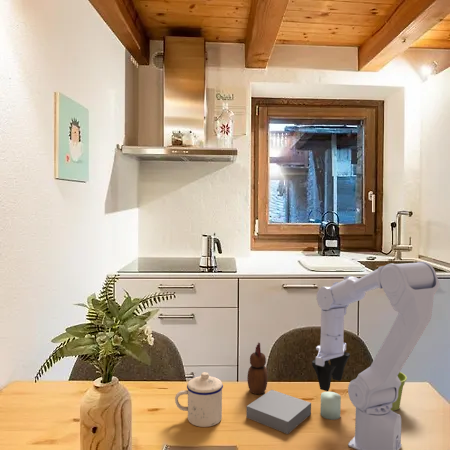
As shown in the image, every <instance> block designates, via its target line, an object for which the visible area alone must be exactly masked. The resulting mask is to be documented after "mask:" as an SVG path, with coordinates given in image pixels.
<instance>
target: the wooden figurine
mask: <svg viewBox="0 0 450 450" xmlns="http://www.w3.org/2000/svg"><path fill="white" fill-rule="evenodd" d="M266 361H267V358H266V355H265V353H263V352H261V342H259V341H258V342H257V344H256V346H255V351H254V352H252V353H251V354H250V357H249V364H250V367H249V368H248V371H247V386H248V390H249V391H250V392H251V393H252V394H255V395H262V394H264V393H265V392H266V390H267V388H268V387H267V386H268V378H269V375H268V368H267V367H266V363H267V362H266Z"/></svg>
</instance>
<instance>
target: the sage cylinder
mask: <svg viewBox="0 0 450 450" xmlns="http://www.w3.org/2000/svg"><path fill="white" fill-rule="evenodd" d="M341 398H342V396H341V394H339V393H337V392H334V391H322V392H321V394H320V416H321V417H322V418H324V419H327V420H332V421H333V420H339V419H340V418H341V407H342V406H341V404H342V401H341V400H342V399H341Z"/></svg>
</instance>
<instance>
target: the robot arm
mask: <svg viewBox="0 0 450 450" xmlns="http://www.w3.org/2000/svg"><path fill="white" fill-rule="evenodd" d="M440 286H441V284H440V282H439V279H438V275H437V272H436V270H435V268H434V266H432V265H431V264H430V263H428V262H426V261H417V262H408V263H387V264H385V265H382V266H378V268H377V269H374V270H373V271H370V272H369V273H367V274H365V275H363V276H362V277H356V276H352V275H346V276H344V277H343V280H341V281H334V282H332V285H331V286H320V287H319V289H318V290H317V293H316V301H317V305H318V307H319V308H320V310H321V311H320V342H319V343H320V344H319V345H317V346H315V350H316V351H318V353H317V356H315V359H314V360H312V361H311V366H312V368H313V369H314V371H315V373H316V377H317V381H318V385H319V389H320V390H322V391H323V392H330V388H331V384H332V383H331V381H332V380H335V381H338V382H340V381H342V378H343V375H344V372H345V371H344V370H345V368H346V365H347V362H348V360H349V359H350V357H351V354H350V353H349V352H346V351H347V343H346V342H344V340H345V339H344V338H345V336H344V332H345V330H344V329H345V316H346V314H347V309H348V307H349V306H350V305H351V304H354V303H356V302H358V301H362V300H363V299H364V298H365V296H366V293H367V292H370V291H373V290H375V289H380V290H381V289H382V290H383V292H384V294H385V296H386V297H387V300H388V301H389V303H390V305H391V307H392V309H393V310H394V311H396V312H397V313H398V315H397V316H396V318H395V319H394V321H393V324H392V325H391V327H390V329H389V331H388V333H387V335H386V337H385V338H384V340H383V341H382V344H381V346H380V348H379V349H378V351H377V353H376V355H375V357H374V359H373V361H372V362H371V364H370V366H369V367H367V368H366V369H364V370H363V371H361V372H359V373H358V375H357V377H356V378H354V379H352V380H351V381H350V382H349V383H348V386H347V392H348V393H347V394H348V398H349V400H350V402H351V403H352V406H354V408H355V419H354V420H355V422H354V424H355V425H354V426H355V427H354V429H355V430H354V436H353V438H351V440H350V441H348V447H350V448H353V449H355V450H400V449H401V448H402V416H401V415H400V414H399V413H397V412H395V411H392V410H391V408H392V403H393V402H395V401H396V400H397V398H398V390H399V387H400V385H401V382H400V380H399V378H398V374H399V372H401V370H402V369H403V367H404V366H405V364H406V363H407V361H408V359H409V357H410V356H411V354H412V351H413V350H414V349H415V347H416V345H417V344H418V342H419V340H420V338H421V337H422V335H423V333H424V332H425V330H426V328H427V326H428V325H429V323H430V322H431V319H432V315H433V307H434V306H433V305H434V297H435V294H436V293H437V291H438V290H439V287H440ZM329 362H330V363H329Z"/></svg>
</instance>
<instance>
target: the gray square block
mask: <svg viewBox="0 0 450 450" xmlns="http://www.w3.org/2000/svg"><path fill="white" fill-rule="evenodd" d="M245 410H246V411H245V412H246V415H245V417H246V418H247V419H249V420H252V421H254V422H257V423H259V424H261V425H263V426H265V427H266V426H267V427H269V428H272V429H275V430H277V431H279V432H281V433H284V434H286V435H289V434H290V433H291V432H292V431H293V430H294V429H296V428H297V427H298V426H299V425H300V424H302V423H303V422H304V421H305V420H306V419H308V417H309V416H311V415H312V402H311V401H306V400H303V399H301V398H298V397H296V396H295V397H294V396H291V395H289V394H286V393H283V392H280V391H277V390H274V389H270V390H269V391H267V392H266V393H263V395H261V396H260V397H258V398H256V399H255V400H254V401H252V402H251V403H249V404H248V405H247V404H246V409H245Z"/></svg>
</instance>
